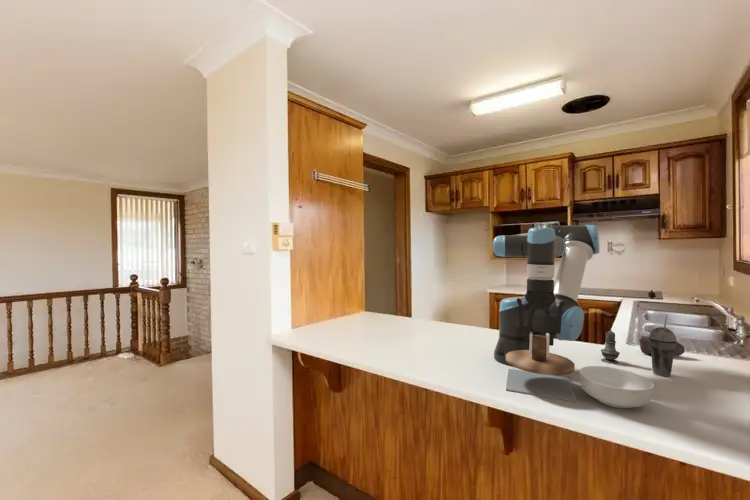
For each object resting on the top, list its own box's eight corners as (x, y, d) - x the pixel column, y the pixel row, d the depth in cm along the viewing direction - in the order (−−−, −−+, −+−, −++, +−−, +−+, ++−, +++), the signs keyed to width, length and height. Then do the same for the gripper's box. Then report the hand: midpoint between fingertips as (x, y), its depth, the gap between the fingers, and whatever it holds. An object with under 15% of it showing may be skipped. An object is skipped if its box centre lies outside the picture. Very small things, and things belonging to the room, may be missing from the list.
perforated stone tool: (681, 355, 136) (682, 338, 136) (688, 359, 131) (688, 341, 131) (635, 351, 141) (635, 334, 141) (639, 355, 136) (640, 337, 136)
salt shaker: (622, 364, 125) (623, 331, 125) (604, 363, 126) (605, 330, 126) (615, 359, 131) (615, 327, 130) (597, 358, 132) (598, 326, 131)
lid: (503, 368, 102) (504, 340, 101) (507, 350, 119) (507, 326, 119) (578, 379, 94) (579, 349, 94) (570, 358, 111) (571, 332, 111)
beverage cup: (642, 370, 119) (643, 312, 119) (661, 370, 120) (663, 312, 119) (661, 378, 112) (662, 316, 111) (682, 378, 112) (683, 316, 112)
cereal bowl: (583, 409, 91) (584, 382, 91) (573, 385, 106) (574, 362, 106) (664, 422, 84) (664, 393, 84) (641, 395, 100) (642, 370, 100)
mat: (505, 390, 102) (505, 389, 102) (508, 369, 119) (508, 368, 119) (576, 401, 95) (576, 400, 95) (568, 378, 112) (568, 377, 112)
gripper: (510, 278, 106) (508, 354, 106) (573, 281, 99) (572, 362, 100) (510, 276, 113) (509, 347, 113) (570, 278, 106) (569, 354, 107)
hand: (538, 354), depth 107 cm, fingers closed on lid, 4 cm apart
